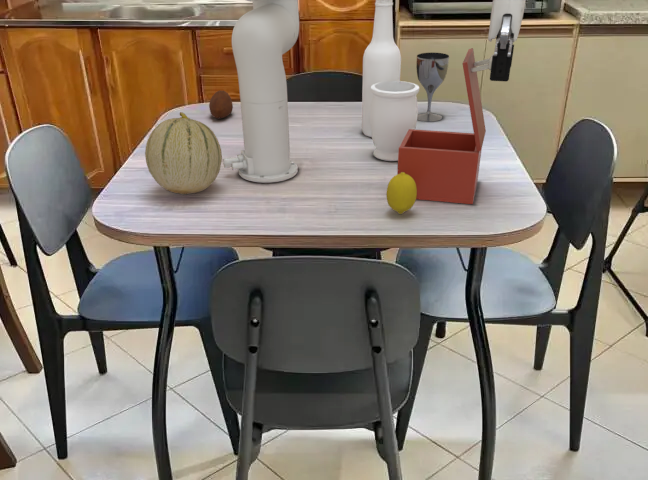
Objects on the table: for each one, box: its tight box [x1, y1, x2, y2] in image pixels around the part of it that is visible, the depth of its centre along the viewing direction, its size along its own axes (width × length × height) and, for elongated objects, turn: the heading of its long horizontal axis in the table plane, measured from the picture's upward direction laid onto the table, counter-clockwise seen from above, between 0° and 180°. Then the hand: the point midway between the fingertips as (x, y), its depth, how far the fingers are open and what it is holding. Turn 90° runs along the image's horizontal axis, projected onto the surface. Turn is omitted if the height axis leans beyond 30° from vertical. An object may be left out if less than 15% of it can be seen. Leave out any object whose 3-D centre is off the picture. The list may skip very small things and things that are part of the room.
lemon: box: [385, 172, 417, 215], centre depth 124 cm, size 6×6×8 cm
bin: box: [396, 128, 483, 205], centre depth 133 cm, size 15×12×10 cm
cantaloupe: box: [144, 111, 223, 195], centre depth 133 cm, size 15×15×15 cm
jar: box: [370, 80, 420, 162], centre depth 148 cm, size 11×10×15 cm
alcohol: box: [361, 0, 402, 138], centre depth 158 cm, size 9×9×30 cm
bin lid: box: [462, 47, 494, 152], centre depth 123 cm, size 16×12×6 cm
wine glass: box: [415, 52, 450, 122], centre depth 172 cm, size 8×8×15 cm
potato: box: [208, 90, 234, 119], centre depth 178 cm, size 6×12×6 cm, turn 179°
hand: (500, 74), depth 121 cm, fingers open, 9 cm apart
